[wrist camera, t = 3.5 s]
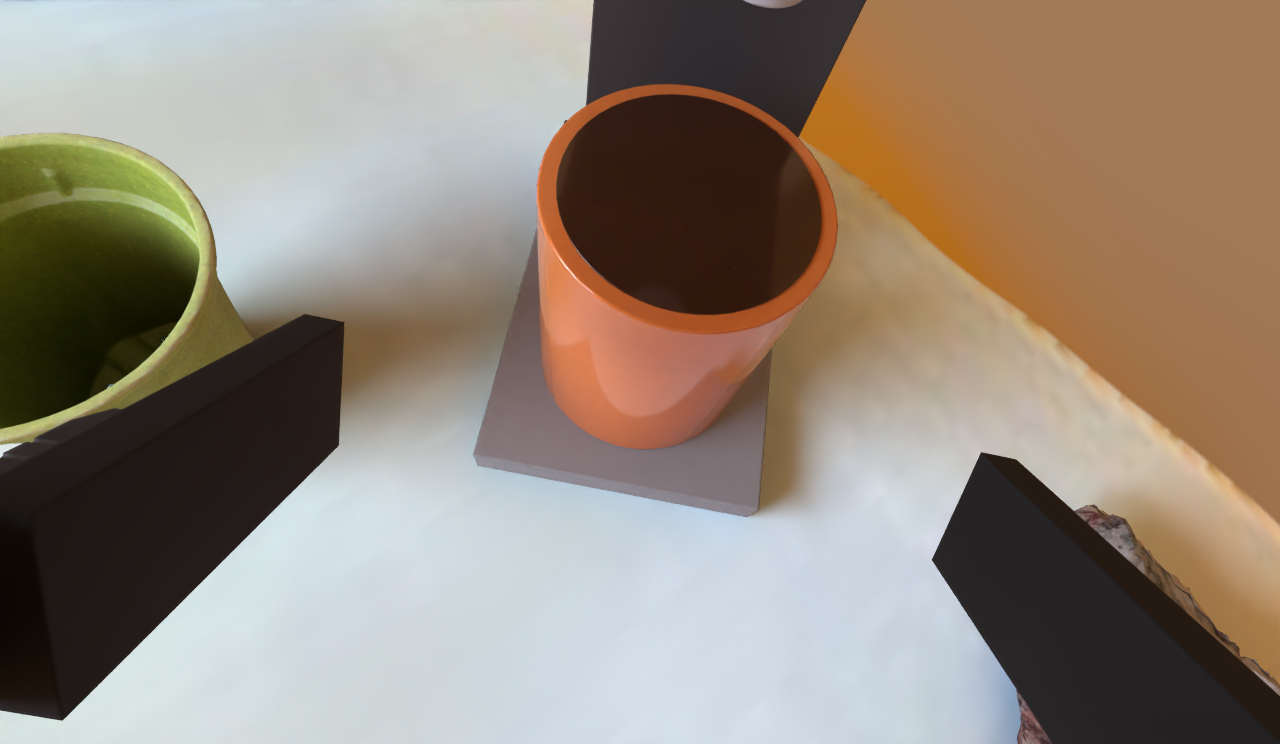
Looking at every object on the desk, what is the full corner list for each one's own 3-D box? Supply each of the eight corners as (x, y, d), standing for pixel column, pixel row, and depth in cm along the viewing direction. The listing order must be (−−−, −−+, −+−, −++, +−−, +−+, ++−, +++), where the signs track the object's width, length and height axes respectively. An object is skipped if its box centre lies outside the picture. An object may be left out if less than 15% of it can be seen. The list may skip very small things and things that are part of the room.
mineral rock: (1028, 497, 27) (1111, 471, 23) (1202, 587, 27) (1318, 577, 23) (939, 877, 21) (1029, 932, 17) (1161, 1006, 21) (1308, 1093, 17)
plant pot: (306, 271, 27) (206, 116, 19) (324, 481, 24) (214, 401, 16) (51, 307, 25) (-178, 150, 17) (33, 544, 22) (-263, 486, 14)
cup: (522, 283, 26) (509, 94, 17) (705, 256, 28) (780, 70, 19) (563, 470, 24) (574, 360, 14) (764, 426, 25) (886, 303, 16)
